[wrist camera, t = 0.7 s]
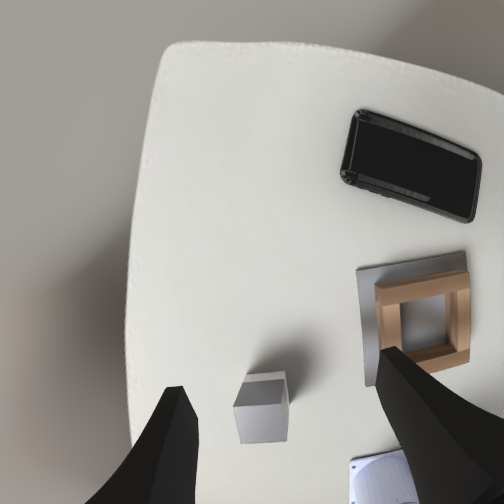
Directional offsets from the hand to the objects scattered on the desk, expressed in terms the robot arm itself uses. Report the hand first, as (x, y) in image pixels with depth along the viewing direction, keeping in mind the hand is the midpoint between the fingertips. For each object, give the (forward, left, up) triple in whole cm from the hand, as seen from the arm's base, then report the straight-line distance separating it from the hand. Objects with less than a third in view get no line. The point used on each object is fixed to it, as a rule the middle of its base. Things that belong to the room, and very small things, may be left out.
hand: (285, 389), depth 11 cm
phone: (+10, -14, -20) cm, 27 cm away
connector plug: (-10, +4, -20) cm, 22 cm away
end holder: (-5, -12, -20) cm, 24 cm away
